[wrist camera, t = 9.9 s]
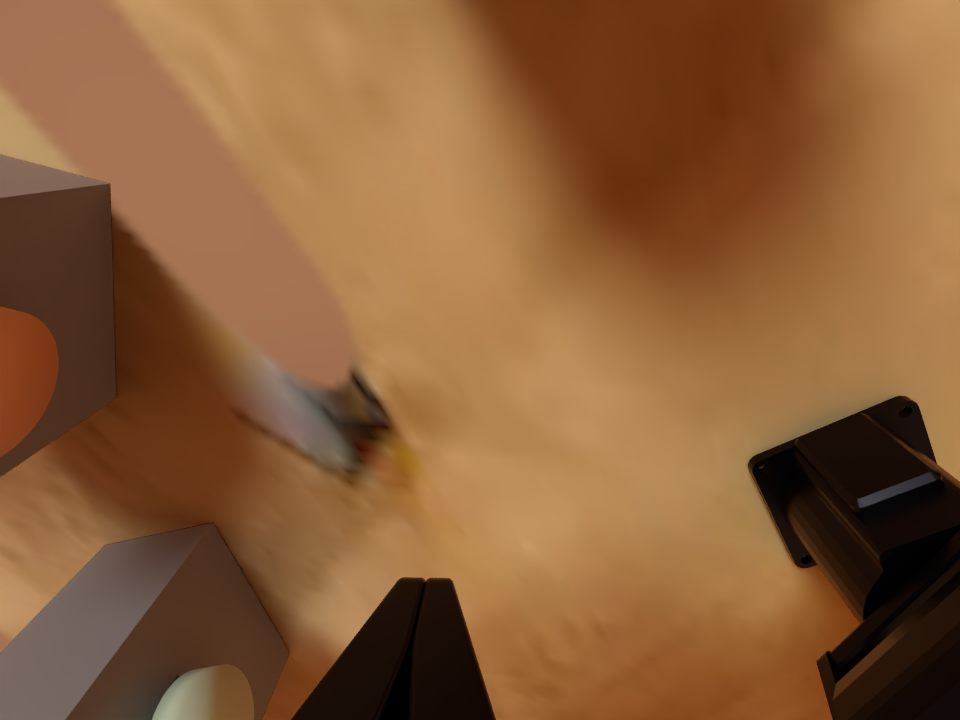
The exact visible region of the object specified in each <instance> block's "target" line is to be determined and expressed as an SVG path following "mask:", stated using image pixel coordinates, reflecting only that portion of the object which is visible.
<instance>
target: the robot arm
mask: <svg viewBox="0 0 960 720" xmlns="http://www.w3.org/2000/svg"><path fill="white" fill-rule="evenodd" d="M902 407H905V408H904V409H903V410H902V411H901V412H898V411H899V410H900V409H901V408H902ZM763 464H766V466H765V467H764V468H761V469H759V467H760V466H761V465H763ZM748 466H749V470H750V472H751V474H752V476H753V478H754V480H755V482H756V485H757V487H758V489H759V491H760V493H761V495H762V497H763V499H764V501H765V504H766V506H767V508H768V510H769V512H770V514H771V516H772V518H773V521H774V523H775V525H776V527H777V529H778V531H779V533H780V535H781V537H782V540H783V542H784V544H785V546H786V548H787V550H788V552H789V554H790V557H791V558H792V560H793V561H794V563H795V564H796V565H797V566H798V567H800V568H808V567H812V566H815V565H818V566H819V567H820V569H821V570H822V572H823V573H824V574H825V576H826V577H827V578H828V580H829V581H830V583H831V584H832V585H833V587H834V588H835V590H836V591H837V592H838V594H839V595H840V597H841V598H842V599H843V601H844V602H845V603H846V605H847V606H848V608H849V609H850V610H851V612H852V613H853V615H854V616H855V617H856V619H857V620H858V622H859V623H860V625H859V626H858V627H857V628H856V629H855V630H854V631H853V632H851V633H850V634H849V635H848V636H847V637H846V638H845V639H844V640H843V641H842V642H841V643H840V644H839V645H838V646H837V647H836V648H835V649H834V650H833V651H832V652H830V651H827V652H826V653H825V654H824V655H823V656H821V657H820V658H819V659H818V660H817V665H818V669H819V672H820V676H821V680H822V683H823V687H824V690H825V694H826V697H827V701H828V704H829V708H830V711H831V715H832V718H833V720H960V482H959V481H958V480H957V479H955V478H954V477H953V476H951V475H950V474H949V473H948V472H946V471H945V470H944V469H942V468H941V467H940V466H939V465H937V463H936V459H935V456H934V453H933V450H932V447H931V444H930V440H929V437H928V434H927V431H926V428H925V425H924V421H923V418H922V415H921V412H920V409H919V406H918V405H917V403H916V402H914V401H913V400H911V399H910V398H908V397H906V396H898V397H894V398H892V399H889V400H887V401H884V402H882V403H880V404H877V405H875V406H872V407H870V408H868V409H865V410H863V411H860V412H858V413H856V414H853V415H851V416H848V417H846V418H844V419H841V420H839V421H836V422H834V423H832V424H829V425H827V426H824V427H822V428H820V429H817V430H815V431H812V432H810V433H808V434H805V435H803V436H800V437H798V438H796V439H793V440H791V441H788V442H786V443H784V444H781V445H779V446H776V447H774V448H772V449H769V450H767V451H764V452H762V453H760V454H757V455H755V456H754V457H752V458H751V459H750V461H749V464H748ZM803 556H804V557H803ZM291 720H496V718H495V715H494V712H493V709H492V705H491V702H490V699H489V696H488V693H487V689H486V686H485V683H484V680H483V677H482V673H481V670H480V667H479V664H478V661H477V657H476V654H475V651H474V648H473V645H472V641H471V638H470V635H469V632H468V629H467V625H466V622H465V619H464V616H463V612H462V609H461V606H460V603H459V600H458V596H457V593H456V590H455V587H454V584H453V581H452V580H451V579H450V578H429V579H427V581H425V579H423V578H407V577H404V578H401V579H399V580H398V581H397V582H396V584H395V585H394V586H393V588H392V589H391V590H390V592H389V593H388V594H387V595H386V597H385V598H384V599H383V601H382V602H381V603H380V605H379V606H378V607H377V608H376V610H375V611H374V612H373V614H372V615H371V616H370V618H369V619H368V620H367V621H366V623H365V624H364V625H363V627H362V628H361V629H360V631H359V632H358V633H357V634H356V636H355V637H354V638H353V640H352V641H351V642H350V644H349V645H348V646H347V647H346V649H345V650H344V651H343V653H342V654H341V655H340V657H339V658H338V659H337V661H336V662H335V663H334V664H333V666H332V667H331V668H330V670H329V671H328V672H327V674H326V675H325V676H324V677H323V679H322V680H321V681H320V683H319V684H318V685H317V687H316V688H315V689H314V690H313V692H312V693H311V694H310V696H309V697H308V698H307V700H306V701H305V702H304V703H303V705H302V706H301V707H300V709H299V710H298V711H297V713H296V714H295V715H294V716H293V718H292V719H291Z"/></svg>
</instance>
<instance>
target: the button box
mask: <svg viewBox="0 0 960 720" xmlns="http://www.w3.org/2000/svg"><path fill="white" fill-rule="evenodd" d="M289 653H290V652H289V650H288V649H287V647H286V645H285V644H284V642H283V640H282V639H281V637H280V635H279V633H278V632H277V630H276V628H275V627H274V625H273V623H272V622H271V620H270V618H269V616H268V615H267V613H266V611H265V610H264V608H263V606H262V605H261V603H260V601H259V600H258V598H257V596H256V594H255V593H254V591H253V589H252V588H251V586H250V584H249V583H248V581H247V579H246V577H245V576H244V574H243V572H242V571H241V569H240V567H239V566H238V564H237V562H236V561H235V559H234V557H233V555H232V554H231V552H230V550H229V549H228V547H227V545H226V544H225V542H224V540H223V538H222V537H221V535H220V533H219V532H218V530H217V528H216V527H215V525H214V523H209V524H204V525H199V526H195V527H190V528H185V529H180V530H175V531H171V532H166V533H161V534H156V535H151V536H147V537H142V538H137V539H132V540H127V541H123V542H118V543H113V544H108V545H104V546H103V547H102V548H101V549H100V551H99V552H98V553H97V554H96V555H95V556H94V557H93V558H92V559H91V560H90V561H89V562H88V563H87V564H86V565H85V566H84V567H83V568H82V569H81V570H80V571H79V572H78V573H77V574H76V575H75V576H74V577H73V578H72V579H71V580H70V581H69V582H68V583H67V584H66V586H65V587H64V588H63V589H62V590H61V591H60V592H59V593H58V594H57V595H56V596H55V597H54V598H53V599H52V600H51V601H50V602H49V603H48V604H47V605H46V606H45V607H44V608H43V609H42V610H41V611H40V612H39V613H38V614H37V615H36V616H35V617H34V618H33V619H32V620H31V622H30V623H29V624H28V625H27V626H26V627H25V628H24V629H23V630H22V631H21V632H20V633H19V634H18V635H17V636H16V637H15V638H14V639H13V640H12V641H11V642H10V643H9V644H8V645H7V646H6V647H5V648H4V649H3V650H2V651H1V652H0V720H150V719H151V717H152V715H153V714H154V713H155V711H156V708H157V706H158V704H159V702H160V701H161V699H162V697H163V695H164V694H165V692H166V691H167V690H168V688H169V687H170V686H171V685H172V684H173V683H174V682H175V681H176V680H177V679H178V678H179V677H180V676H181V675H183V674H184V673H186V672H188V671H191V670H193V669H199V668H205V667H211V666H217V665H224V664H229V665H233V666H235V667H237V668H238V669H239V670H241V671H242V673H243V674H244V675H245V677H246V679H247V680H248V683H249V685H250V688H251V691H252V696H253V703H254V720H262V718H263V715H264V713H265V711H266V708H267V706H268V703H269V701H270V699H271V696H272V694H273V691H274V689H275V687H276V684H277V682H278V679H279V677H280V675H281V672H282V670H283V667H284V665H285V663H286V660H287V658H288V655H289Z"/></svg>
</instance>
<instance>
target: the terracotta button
mask: <svg viewBox="0 0 960 720" xmlns="http://www.w3.org/2000/svg"><path fill="white" fill-rule="evenodd" d="M58 367H59V359H58V350H57V346H56V342H55V340H54V338H53V335H52V334H51V332H50V330H49V329H48V328H47V326H46V325H45V324H44V323H43V322H42V321H40V320H39V319H38V318H36V317H34V316H32V315H30V314H27V313H24V312H21V311H17V310H13V309H9V308H5V307H1V306H0V457H1V456H3V455H4V454H6V453H7V452H9V451H10V450H11V449H13V448H14V447H15V446H16V445H18V444H19V443H20V442H21V441H22V440H23V439H24V438H25V437H26V436H27V435H28V434H29V433H30V432H31V430H32V429H33V428H34V427H35V425H36V424H37V423H38V421H39V420H40V418H41V417H42V415H43V413H44V412H45V410H46V408H47V406H48V404H49V402H50V400H51V397H52V395H53V392H54V389H55V385H56V381H57V376H58Z"/></svg>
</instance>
